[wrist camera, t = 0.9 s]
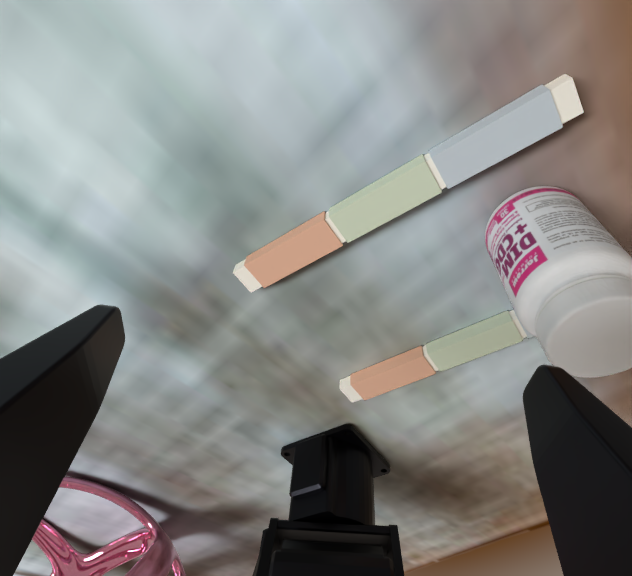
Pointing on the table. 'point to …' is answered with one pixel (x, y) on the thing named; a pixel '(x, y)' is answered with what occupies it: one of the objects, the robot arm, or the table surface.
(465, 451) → the table surface
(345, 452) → the robot arm
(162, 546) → the pink openwork sphere
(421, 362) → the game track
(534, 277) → the pill bottle
